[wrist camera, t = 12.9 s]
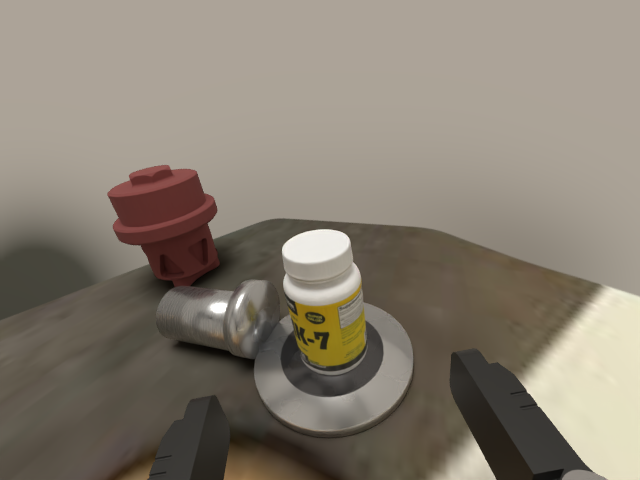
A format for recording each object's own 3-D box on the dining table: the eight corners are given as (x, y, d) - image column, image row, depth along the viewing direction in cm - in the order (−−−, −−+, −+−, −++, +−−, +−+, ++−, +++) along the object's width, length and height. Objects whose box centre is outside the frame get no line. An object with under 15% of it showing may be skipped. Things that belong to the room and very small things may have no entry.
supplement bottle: (286, 354, 21) (257, 251, 18) (331, 316, 24) (314, 220, 21) (337, 392, 18) (316, 276, 15) (382, 343, 21) (373, 235, 17)
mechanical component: (183, 311, 29) (127, 290, 35) (251, 258, 37) (197, 247, 42) (127, 189, 24) (71, 185, 29) (221, 156, 31) (163, 157, 36)
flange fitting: (135, 385, 22) (99, 328, 20) (224, 292, 31) (207, 244, 29) (403, 463, 15) (400, 391, 13) (419, 315, 24) (419, 255, 22)
